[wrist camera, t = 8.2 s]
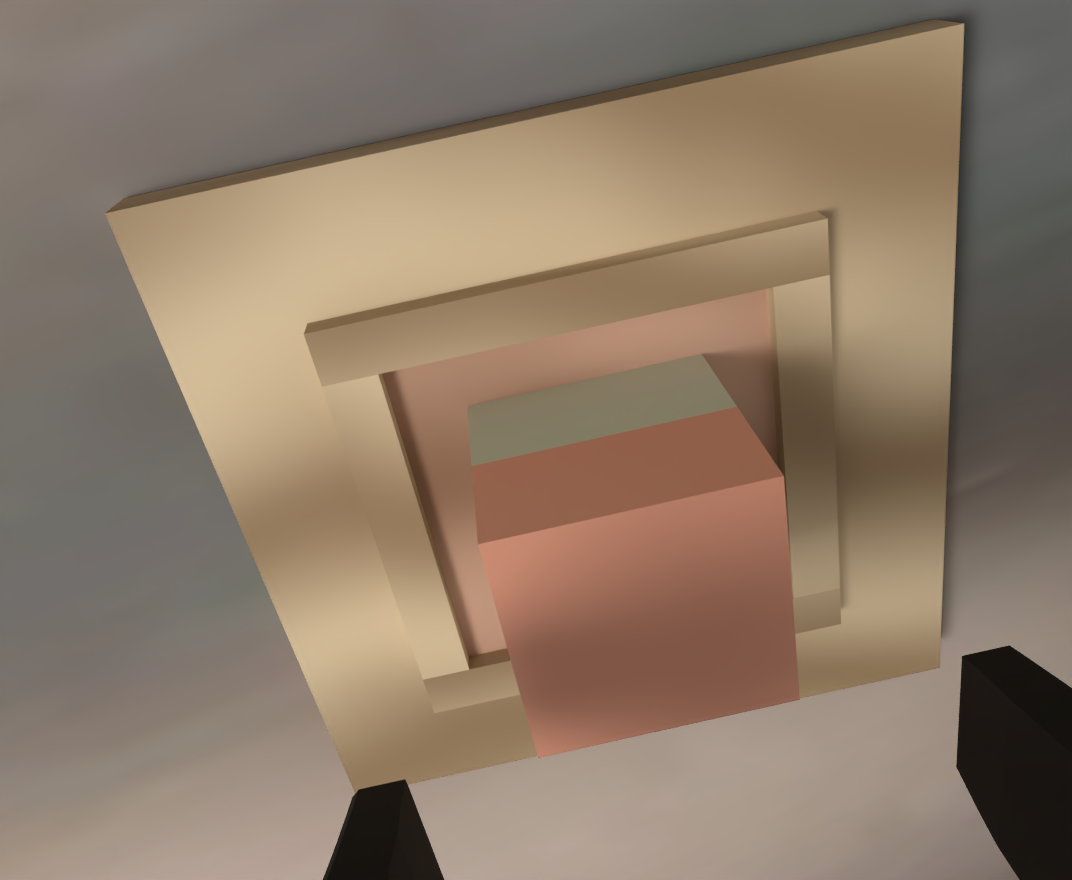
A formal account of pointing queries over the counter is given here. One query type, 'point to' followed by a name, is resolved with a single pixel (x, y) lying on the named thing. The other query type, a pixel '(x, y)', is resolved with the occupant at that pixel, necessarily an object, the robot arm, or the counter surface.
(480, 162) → the baseplate
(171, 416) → the counter surface
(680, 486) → the brick stack
